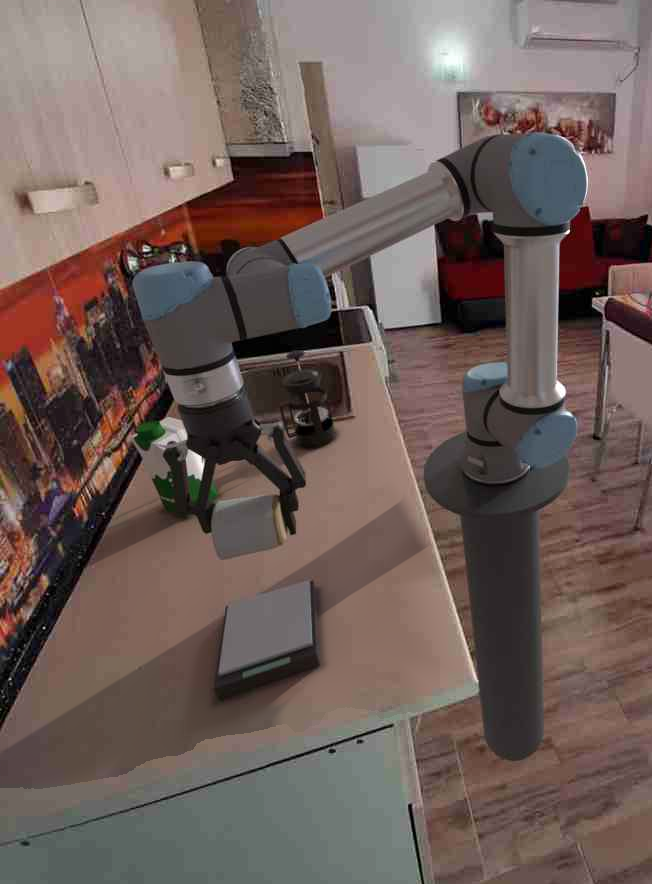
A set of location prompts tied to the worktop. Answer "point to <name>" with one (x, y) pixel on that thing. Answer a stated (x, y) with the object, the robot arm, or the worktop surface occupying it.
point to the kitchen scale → (268, 639)
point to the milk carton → (151, 448)
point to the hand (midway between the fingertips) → (259, 537)
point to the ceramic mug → (248, 525)
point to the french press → (307, 407)
